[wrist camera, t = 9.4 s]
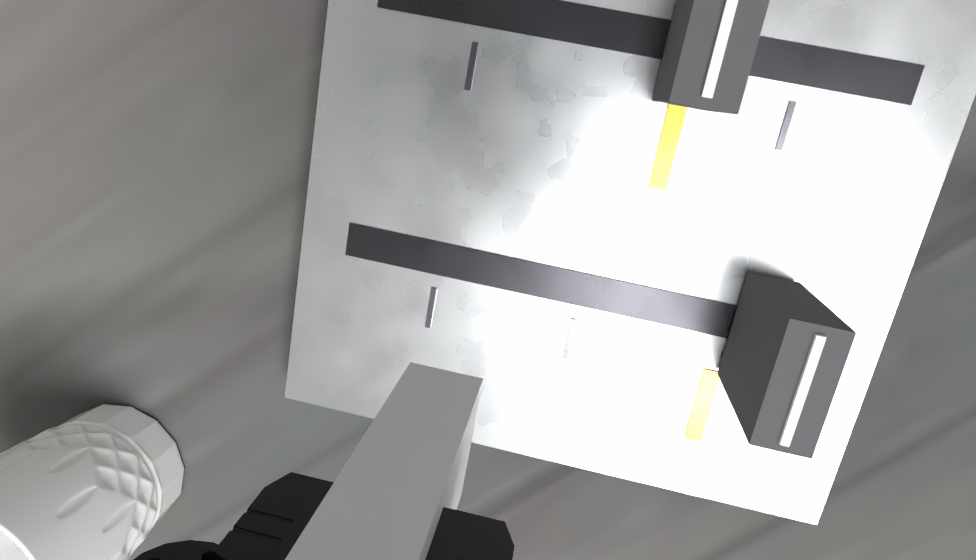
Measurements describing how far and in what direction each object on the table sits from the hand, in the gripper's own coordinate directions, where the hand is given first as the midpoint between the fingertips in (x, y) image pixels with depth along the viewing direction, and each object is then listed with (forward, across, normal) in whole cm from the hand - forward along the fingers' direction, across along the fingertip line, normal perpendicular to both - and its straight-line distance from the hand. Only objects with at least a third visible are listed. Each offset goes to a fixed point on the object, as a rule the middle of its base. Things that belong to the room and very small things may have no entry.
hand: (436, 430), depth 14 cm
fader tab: (+15, +10, -1) cm, 18 cm away
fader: (+15, +5, +9) cm, 18 cm away
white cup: (+17, -18, -16) cm, 30 cm away
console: (+17, +3, +2) cm, 18 cm away
